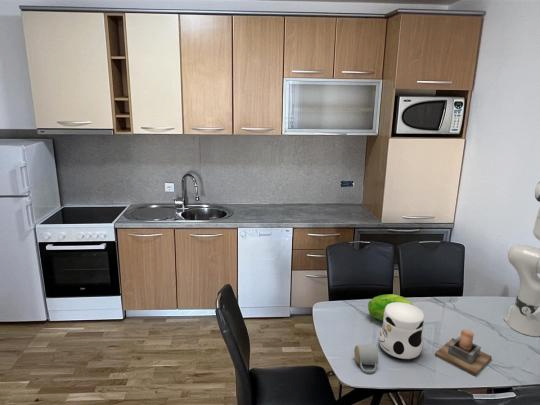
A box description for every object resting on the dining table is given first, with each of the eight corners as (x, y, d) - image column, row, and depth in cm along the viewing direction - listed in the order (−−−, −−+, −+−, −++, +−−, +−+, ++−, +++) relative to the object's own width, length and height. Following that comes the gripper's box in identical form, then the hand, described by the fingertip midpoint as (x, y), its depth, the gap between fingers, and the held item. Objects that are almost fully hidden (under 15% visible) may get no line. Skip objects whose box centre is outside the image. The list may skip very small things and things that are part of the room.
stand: (452, 340, 171) (454, 329, 169) (491, 359, 159) (493, 347, 158) (434, 355, 160) (436, 344, 159) (475, 376, 149) (477, 364, 147)
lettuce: (418, 324, 183) (421, 301, 180) (373, 328, 178) (376, 305, 175) (403, 309, 195) (406, 288, 192) (361, 313, 190) (363, 292, 187)
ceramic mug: (352, 356, 158) (354, 339, 156) (372, 356, 159) (374, 340, 156) (359, 374, 148) (360, 357, 146) (380, 374, 148) (382, 357, 146)
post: (460, 349, 162) (463, 328, 160) (471, 354, 159) (475, 333, 157) (455, 353, 159) (459, 332, 157) (467, 359, 156) (471, 337, 154)
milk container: (369, 342, 168) (373, 304, 163) (401, 334, 174) (407, 298, 170) (396, 367, 152) (401, 326, 148) (430, 358, 159) (436, 318, 154)
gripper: (570, 283, 143) (534, 296, 152) (554, 301, 130) (516, 315, 139) (582, 298, 141) (545, 311, 150) (567, 319, 128) (528, 331, 137)
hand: (531, 313), depth 145 cm, fingers open, 8 cm apart
